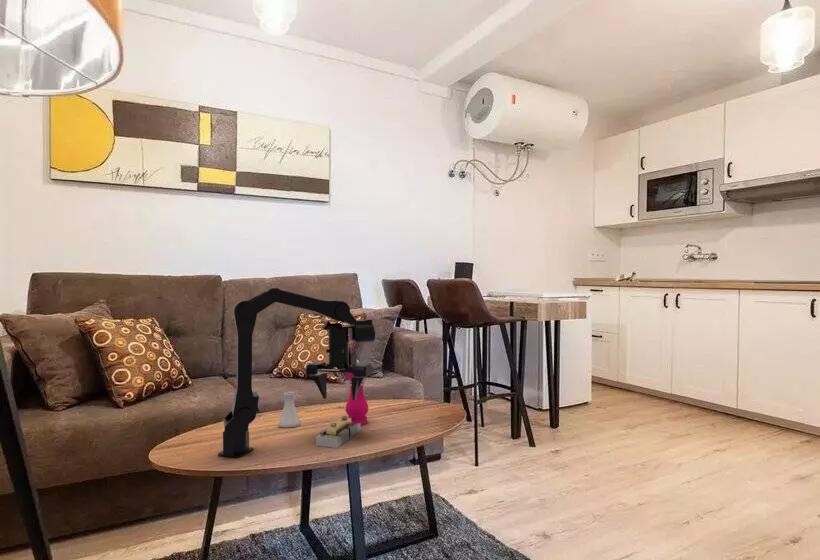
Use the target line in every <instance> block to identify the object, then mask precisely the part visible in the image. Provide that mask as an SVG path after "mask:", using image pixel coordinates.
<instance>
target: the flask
mask: <svg viewBox="0 0 820 560" xmlns="http://www.w3.org/2000/svg"><path fill="white" fill-rule="evenodd" d="M283 396H284V404H283V405H284V406H283V408H282V412H281V415H280V418H279V421H278V424H277V427H279V428H283V429H284V428H285V429H286V428H296V427H298V426H300V425H301V424H302V422H301V421H302V420H301V418H300V416H299V414H298V411H297V408H296V405H295V401H294V400H295V399H294V396H295V392H294V391H293V392H292V391H289V392H288V391H287V392H284V393H283Z"/></svg>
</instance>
